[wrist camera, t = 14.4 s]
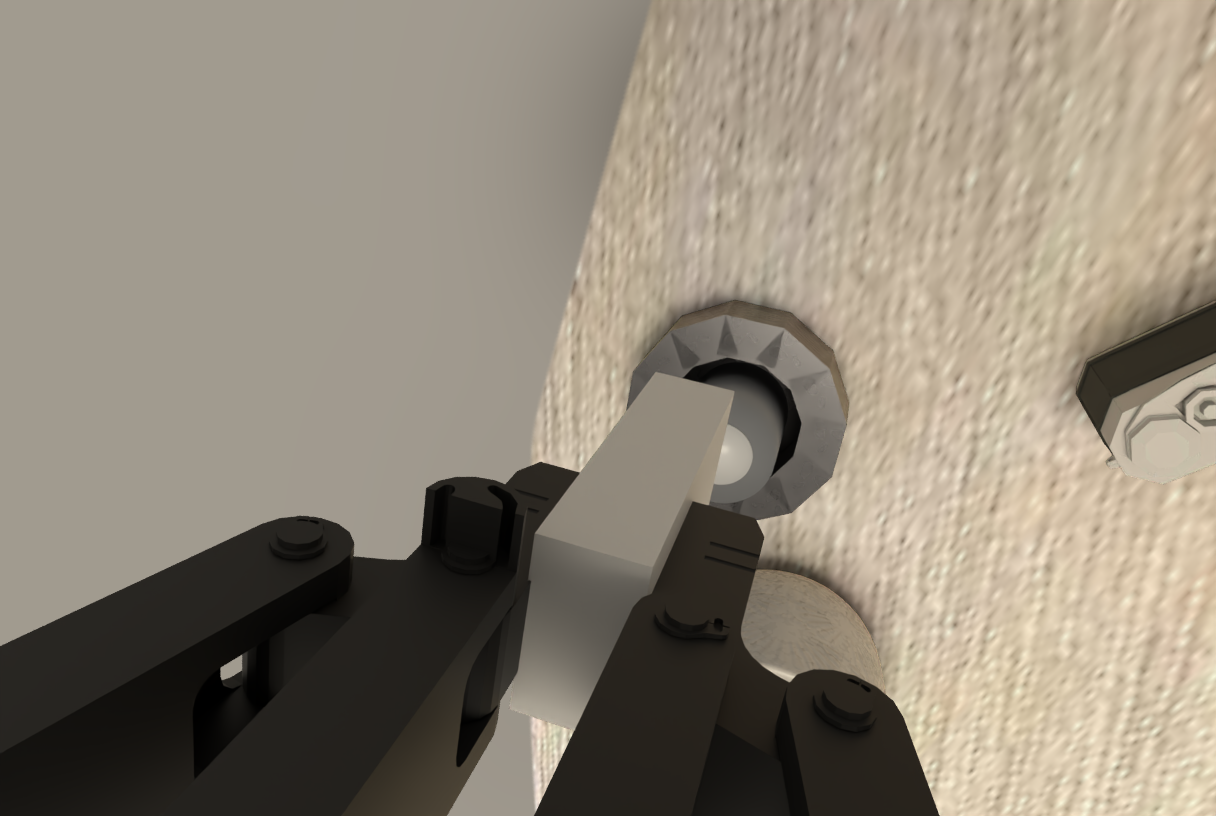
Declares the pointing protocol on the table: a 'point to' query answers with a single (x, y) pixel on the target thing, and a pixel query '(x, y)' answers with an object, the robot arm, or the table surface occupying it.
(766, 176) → the table surface
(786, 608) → the planter
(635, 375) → the grey ring
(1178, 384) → the camera
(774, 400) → the cap
